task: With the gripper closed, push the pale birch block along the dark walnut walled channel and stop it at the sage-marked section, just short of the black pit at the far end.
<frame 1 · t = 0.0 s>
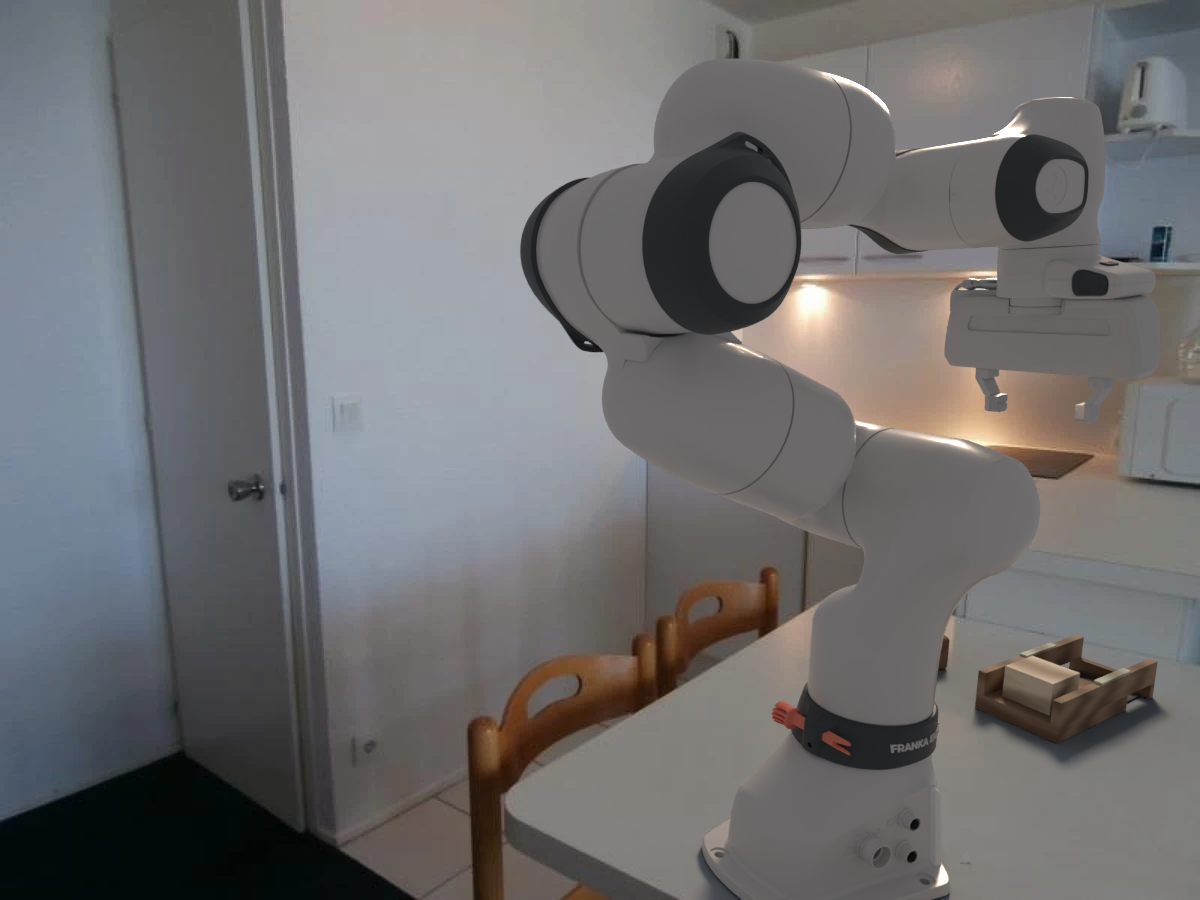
hand: (1039, 416, 86), 39 cm above the table, tool pointing down, fingers open, 8 cm apart
wooden block: (911, 660, 121), on the table
birch block: (1038, 699, 105), point 2 cm above the table, touching walled channel
walled channel: (1059, 705, 108), on the table
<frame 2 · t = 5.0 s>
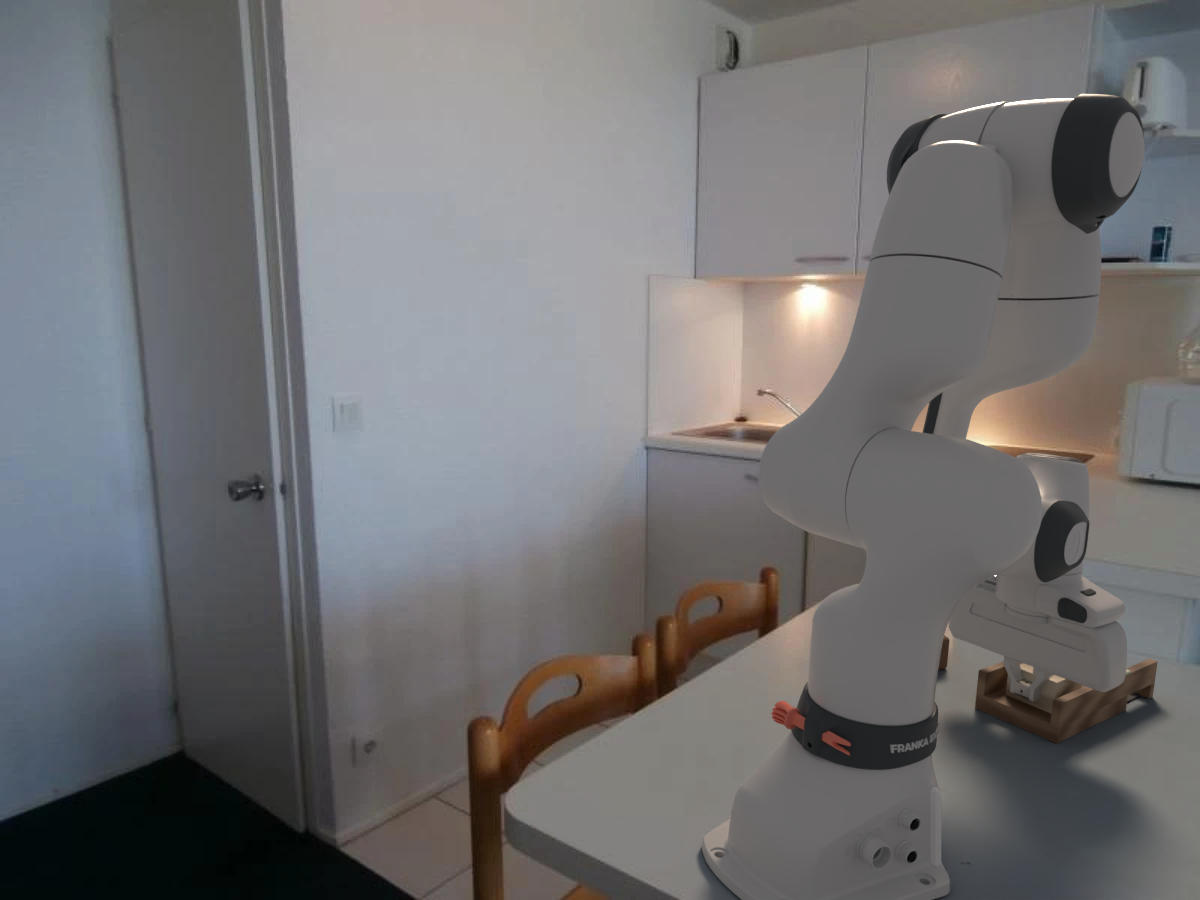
hand: (1025, 696, 103), 3 cm above the table, tool pointing down, fingers closed, pressing on birch block
birch block: (1042, 698, 105), point 2 cm above the table, touching gripper, walled channel
everything else where it was.
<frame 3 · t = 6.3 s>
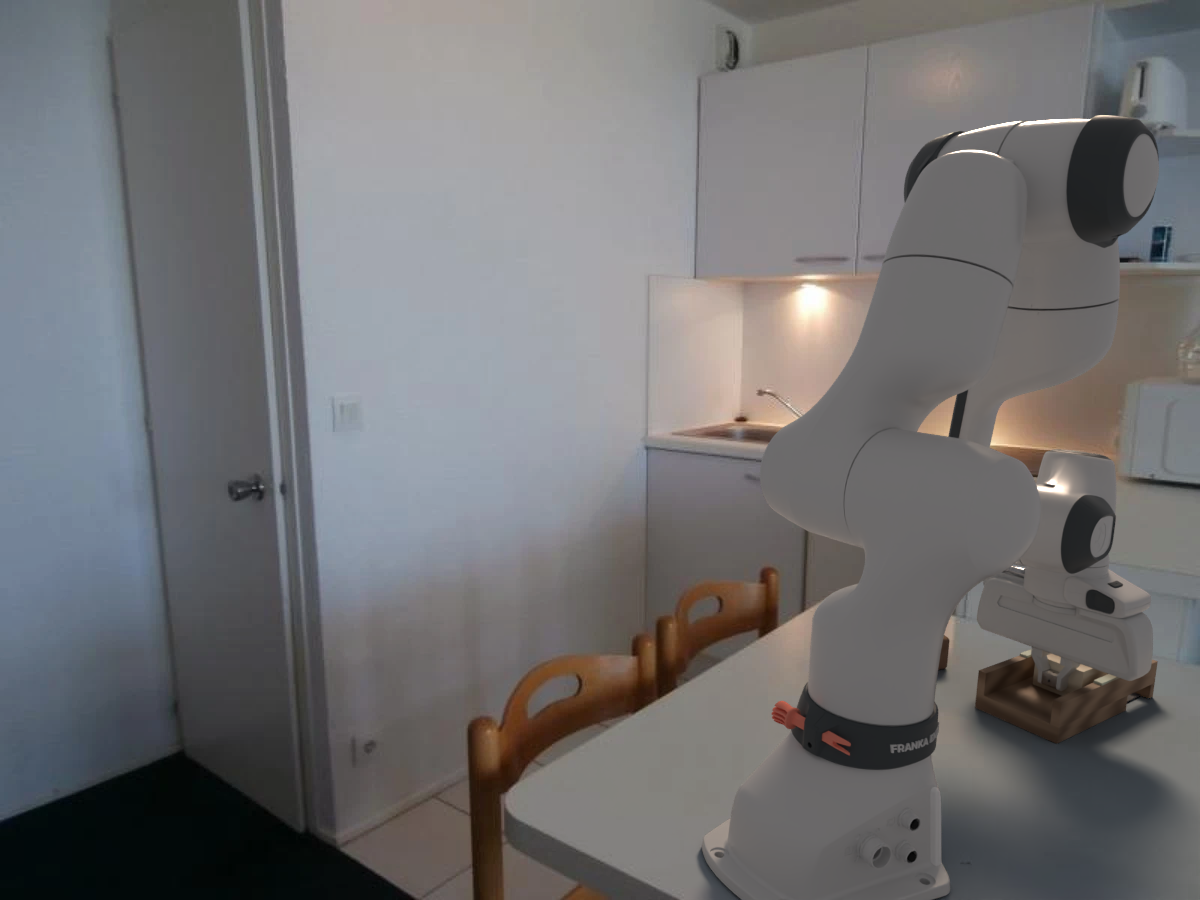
hand: (1052, 686, 106), 3 cm above the table, tool pointing down, fingers closed, pressing on birch block
birch block: (1068, 687, 108), point 2 cm above the table, touching gripper, walled channel
everything else where it was.
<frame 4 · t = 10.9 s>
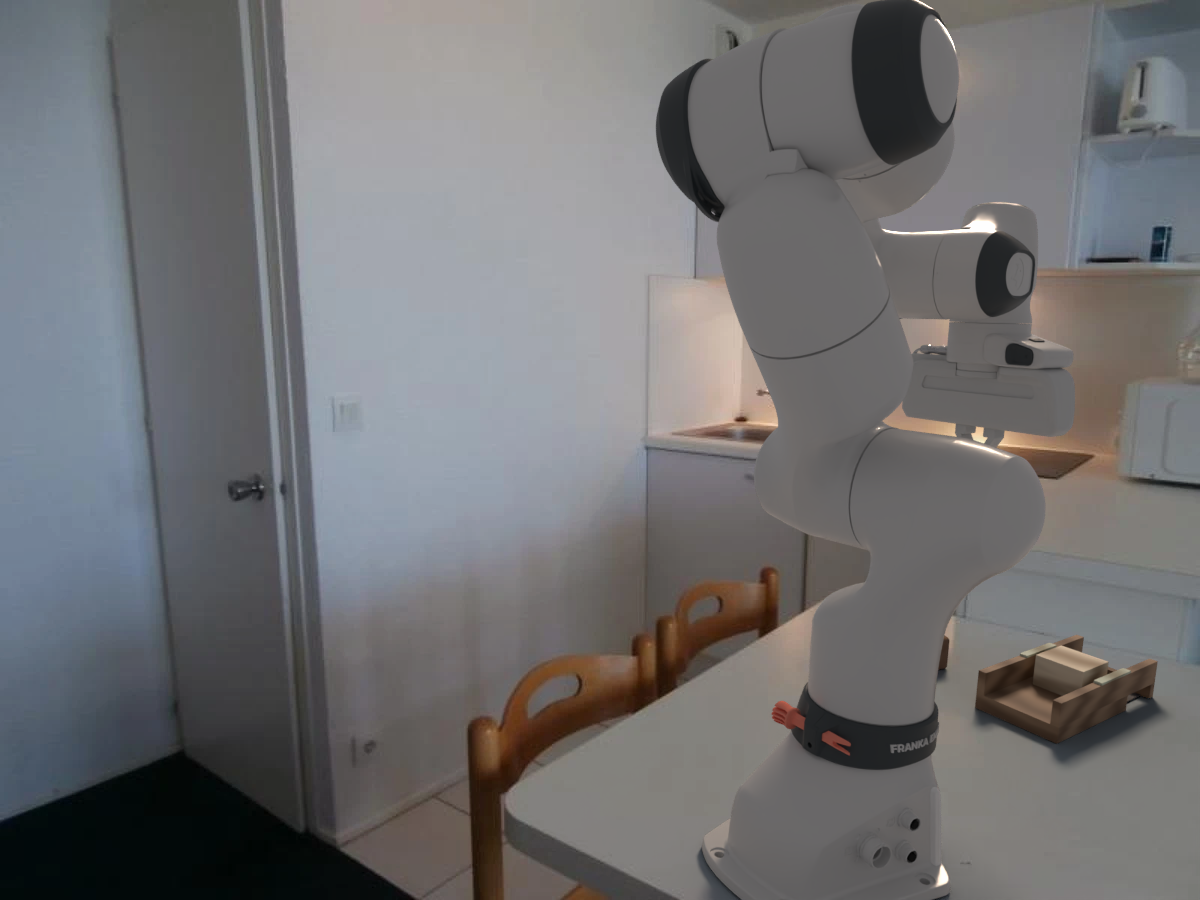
hand: (976, 463, 102), 31 cm above the table, tool pointing down, fingers closed
birch block: (1068, 687, 108), point 2 cm above the table, touching walled channel
everything else where it was.
at the end: birch block 0.6 cm from the target spot, point 2.0 cm above the table; birch block tilted 0°; birch block moved 6.7 cm from its start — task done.
